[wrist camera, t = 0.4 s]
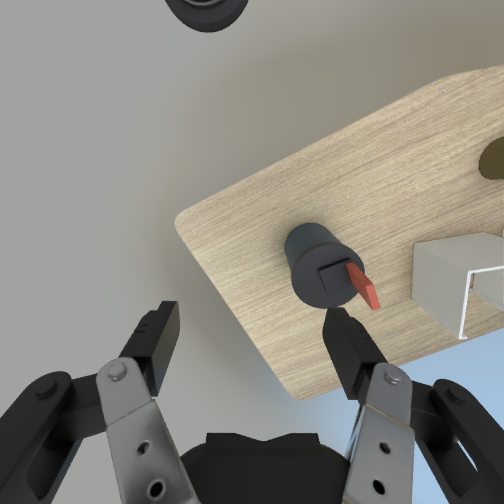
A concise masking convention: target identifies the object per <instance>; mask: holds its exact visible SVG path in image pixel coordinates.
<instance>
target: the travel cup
mask: <svg viewBox="0 0 504 504" xmlns="http://www.w3.org/2000/svg"><path fill="white" fill-rule="evenodd" d="M285 253H286V257H287V260H288V263H289V267H290V270H291V281H292V285H293V289H294V291H295V293H296V295H297V296H298V297H299V298H300V299H301V300H302V301H303V302H304V303H306V304H308V305H310V306H312V307H316V308H322V309H327V308H329V307H338V306H341V305H343V304H345V303H347V302H348V301H350V300H351V299H352V298H353V297H354V296H355V295H356V294H357V293H358V291H357V289H356V288H355V287H354V286H352V287H349V288H346V289H344V290H341V291H338V292H335V293H332V294H329V295H328V294H327V292H326V289H325V287H324V284H323V282H322V279H321V276H320V274H319V271H318V270H320V269H322V268H325V267H328V266H330V265H333V264H336V263H338V262H341V261H344V260H346V259H349V258H351V260H352V262H353V263H354V264H355V265H356V266H357V267H358V268H359V269H360V270H361V272H362V273H363V274H364V275H365V270H364V265H363V263H362V260H361V259H360V257H359V256H358V255H357V254H356V253H355V252H354V251H353V250H352V249H351V248H349V247H348V246H345V245H343V244H342V243H341V242H340V241H339V240H338V239H337V238H336V237H335V236H334V235H333V234H332V233H331V232H330V231H329V230H328V229H326V228H325V227H324V226H322V225H320V224H316V223H306V224H302V225H300V226H298V227H296V228H295V229H294V230H292V231H291V233H290V234H289V235H288V237H287V239H286V242H285Z"/></svg>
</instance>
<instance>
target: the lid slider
mask: <svg viewBox="0 0 504 504" xmlns="http://www.w3.org/2000/svg"><path fill="white" fill-rule="evenodd" d="M318 271H319V274H320V276H321V279H322V282H323V284H324V287H325V289H326V292H327V294H328V295H329V294H332V293H335V292H338V291H341V290H344V289H346V288H349V287H352V286H354V287H355V288H356V289H357V291H358V292H359V293H360V295H361V296H362V297H363V298H364V300H365V301H366V302H367V304H368V305H369V306H370V307H371V309H372V310H376V309H379V308H380V304H379V301H378V298H377V294H376V291H375V288H374V284H373V283H372V282H371V281H370V280H369V279H368V278H367V277H366V276H365V275H364V274H363V273H362V272H361V270H360V269H359V268H358V267H357V266H356V265H355V264H354V263H353V262H352V260H351V258H349V259H346V260H344V261H341V262H338V263H336V264H333V265H330V266H328V267H325V268H322V269H320V270H318Z"/></svg>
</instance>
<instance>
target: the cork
mask: <svg viewBox="0 0 504 504" xmlns="http://www.w3.org/2000/svg"><path fill="white" fill-rule="evenodd" d="M479 170H480V172H481V174H482V175H483V176H484V177H485V178H487V179H490V180H497V179H504V137H502V138H499V139H497V140H495V141H494V142H492V143H491V144H490V145H489V146H488V147H487V148H486V149H485V150H484V152H483V153H482V155H481V158H480V161H479Z"/></svg>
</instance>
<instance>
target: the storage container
mask: <svg viewBox="0 0 504 504" xmlns="http://www.w3.org/2000/svg"><path fill="white" fill-rule="evenodd" d="M471 273H475V274H474V281H473V287H472V288H469V284H470V277H471ZM468 291H470V292H472V293H474V294H475V295H477V296H479V297H480V298H482V299H484V300H485V301H487V302H489V303H490V304H492V305H494V306H495V307H497V308H499V309H500V310H502V311H504V228H503V232H502V237H499V236H495V235H492V234H489V233H486V232H479V233H473V234H467V235H461V236H455V237H449V238H443V239H437V240H431V241H425V242H419V243H414V254H413V275H412V296H411V298H412V299H413V300H414V301H415V302H416V303H417V304H419V305H420V306H421V307H422V308H423V309H424V310H425V311H426V312H428V313H429V314H430V315H431V316H432V317H433V318H434V319H435V320H437V321H438V322H439V323H440V324H441V325H442V326H443V327H445V328H446V329H447V330H448V331H449V332H450V333H451V334H452V335H454V336H455V337H456V338H457V339H458V340H461V339H467V336H466V335H465V334H464V333H462V332H463V325H464V318H465V312H466V305H467V298H468Z"/></svg>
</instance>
